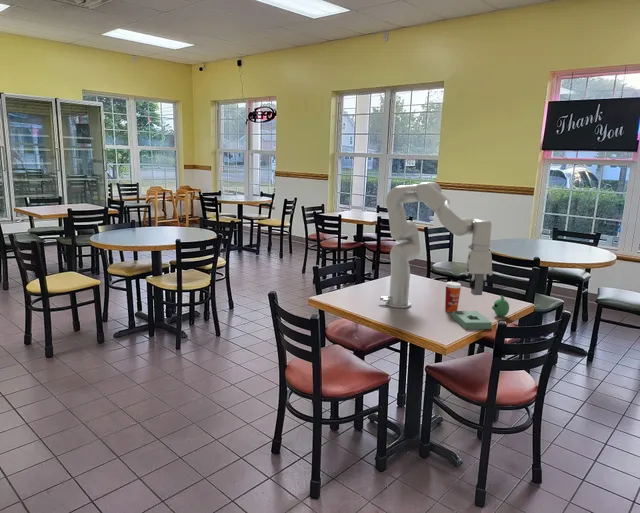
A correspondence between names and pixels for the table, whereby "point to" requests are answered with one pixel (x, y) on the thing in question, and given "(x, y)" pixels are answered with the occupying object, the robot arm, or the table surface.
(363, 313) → the table surface
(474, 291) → the keyed plug
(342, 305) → the table surface
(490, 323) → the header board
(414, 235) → the robot arm
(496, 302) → the alien toy
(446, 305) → the paper cup
